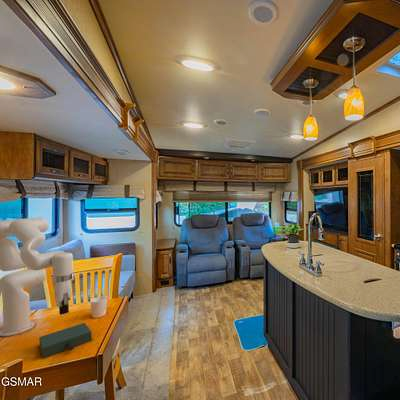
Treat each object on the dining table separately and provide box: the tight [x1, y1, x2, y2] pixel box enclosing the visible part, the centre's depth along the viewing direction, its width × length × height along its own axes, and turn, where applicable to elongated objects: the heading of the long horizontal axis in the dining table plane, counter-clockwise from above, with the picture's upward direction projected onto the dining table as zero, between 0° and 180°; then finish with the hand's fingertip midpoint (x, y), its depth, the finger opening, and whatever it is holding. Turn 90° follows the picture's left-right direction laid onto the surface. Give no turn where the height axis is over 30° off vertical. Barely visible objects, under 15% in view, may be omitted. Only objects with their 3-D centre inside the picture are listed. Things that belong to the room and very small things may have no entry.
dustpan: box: [38, 322, 92, 359], centre depth 121 cm, size 5×17×18 cm
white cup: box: [90, 295, 108, 319], centre depth 149 cm, size 8×8×10 cm
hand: (64, 313), depth 124 cm, fingers closed
